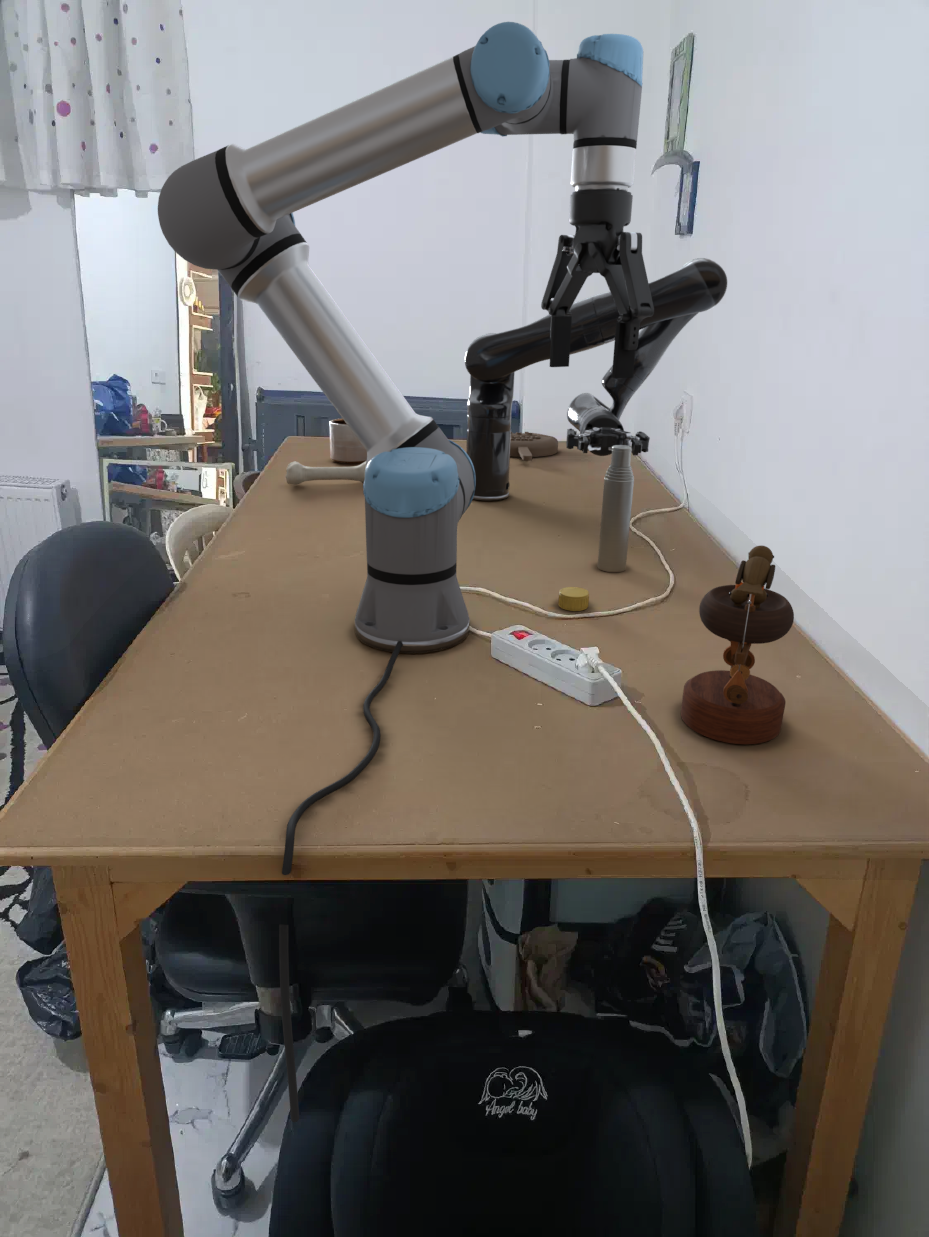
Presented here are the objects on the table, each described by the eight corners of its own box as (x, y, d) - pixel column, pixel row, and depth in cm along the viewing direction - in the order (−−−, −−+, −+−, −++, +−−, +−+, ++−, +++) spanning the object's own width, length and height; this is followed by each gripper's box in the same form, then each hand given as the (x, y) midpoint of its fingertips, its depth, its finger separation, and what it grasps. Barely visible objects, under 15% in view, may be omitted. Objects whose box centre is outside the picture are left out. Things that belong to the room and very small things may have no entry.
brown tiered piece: (801, 756, 85) (818, 567, 77) (689, 756, 86) (695, 570, 79) (768, 687, 99) (780, 521, 91) (672, 688, 100) (676, 525, 93)
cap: (552, 604, 123) (553, 590, 122) (575, 598, 125) (576, 584, 125) (571, 613, 120) (572, 599, 119) (594, 607, 122) (595, 593, 121)
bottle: (618, 562, 142) (629, 443, 134) (630, 571, 137) (642, 449, 130) (593, 564, 140) (602, 444, 133) (603, 573, 136) (614, 450, 129)
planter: (327, 456, 217) (325, 418, 214) (369, 454, 220) (368, 417, 217) (334, 465, 208) (332, 425, 204) (377, 463, 211) (376, 424, 207)
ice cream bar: (485, 466, 209) (486, 449, 208) (478, 444, 235) (479, 429, 234) (570, 466, 210) (571, 449, 209) (554, 445, 236) (554, 430, 235)
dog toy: (376, 479, 194) (375, 458, 192) (378, 485, 188) (377, 463, 186) (286, 481, 191) (285, 459, 189) (286, 488, 185) (284, 465, 183)
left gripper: (698, 184, 94) (676, 381, 102) (567, 198, 114) (558, 361, 122) (645, 180, 90) (627, 384, 98) (520, 195, 111) (513, 363, 119)
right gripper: (564, 409, 156) (571, 424, 141) (641, 412, 156) (656, 427, 141) (561, 450, 159) (567, 468, 144) (637, 453, 159) (651, 472, 144)
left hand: (589, 372), depth 110 cm, fingers open, 13 cm apart
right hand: (611, 448), depth 143 cm, fingers open, 8 cm apart
